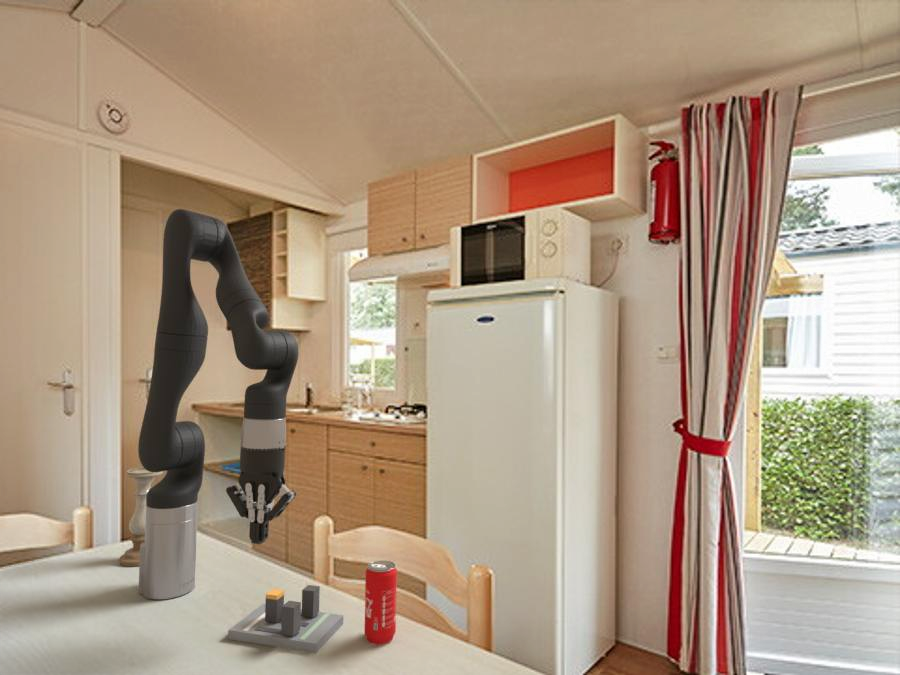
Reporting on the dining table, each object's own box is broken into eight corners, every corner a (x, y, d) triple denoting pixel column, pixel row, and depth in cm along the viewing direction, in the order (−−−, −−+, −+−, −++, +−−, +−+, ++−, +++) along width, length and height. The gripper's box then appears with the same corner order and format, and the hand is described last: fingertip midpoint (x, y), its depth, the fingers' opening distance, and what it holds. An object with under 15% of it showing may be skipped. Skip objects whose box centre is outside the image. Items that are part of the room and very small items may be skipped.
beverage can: (390, 647, 89) (391, 572, 90) (359, 644, 90) (361, 569, 91) (399, 632, 94) (400, 561, 95) (370, 628, 95) (372, 558, 96)
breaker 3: (301, 616, 96) (302, 589, 96) (307, 610, 98) (308, 584, 98) (313, 617, 95) (313, 591, 95) (319, 612, 97) (319, 586, 98)
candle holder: (171, 555, 128) (174, 467, 129) (140, 569, 120) (143, 475, 121) (142, 550, 131) (145, 465, 132) (109, 563, 123) (113, 472, 123)
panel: (228, 639, 91) (228, 629, 91) (262, 612, 101) (262, 603, 101) (316, 653, 87) (316, 642, 87) (343, 623, 97) (343, 614, 97)
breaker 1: (264, 620, 94) (265, 594, 94) (272, 615, 96) (272, 588, 96) (276, 622, 93) (277, 595, 93) (283, 616, 95) (284, 590, 96)
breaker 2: (281, 634, 89) (281, 606, 90) (288, 628, 91) (288, 600, 92) (293, 636, 89) (294, 608, 89) (300, 629, 91) (300, 602, 91)
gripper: (216, 443, 94) (211, 545, 94) (286, 449, 91) (281, 555, 91) (243, 437, 102) (238, 531, 101) (308, 443, 99) (303, 540, 98)
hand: (258, 542), depth 96 cm, fingers closed
